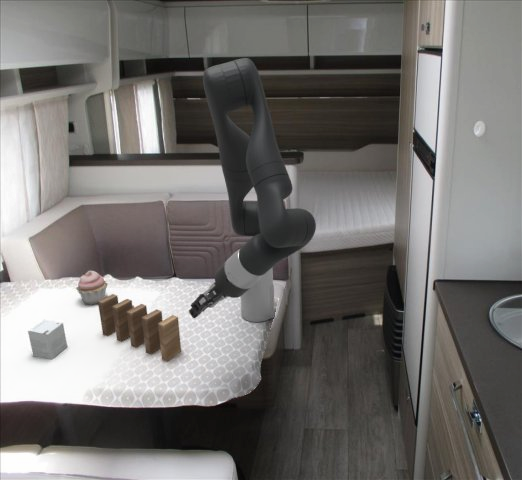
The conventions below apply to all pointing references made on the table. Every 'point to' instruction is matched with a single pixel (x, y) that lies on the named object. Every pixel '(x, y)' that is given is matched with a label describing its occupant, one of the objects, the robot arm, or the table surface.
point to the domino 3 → (136, 325)
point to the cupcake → (92, 287)
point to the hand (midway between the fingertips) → (201, 308)
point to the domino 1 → (107, 314)
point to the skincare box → (47, 339)
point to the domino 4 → (152, 331)
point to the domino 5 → (169, 338)
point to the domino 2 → (122, 319)
